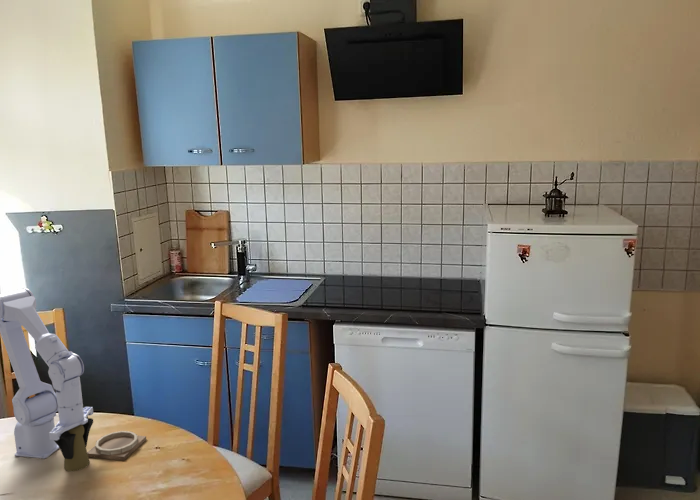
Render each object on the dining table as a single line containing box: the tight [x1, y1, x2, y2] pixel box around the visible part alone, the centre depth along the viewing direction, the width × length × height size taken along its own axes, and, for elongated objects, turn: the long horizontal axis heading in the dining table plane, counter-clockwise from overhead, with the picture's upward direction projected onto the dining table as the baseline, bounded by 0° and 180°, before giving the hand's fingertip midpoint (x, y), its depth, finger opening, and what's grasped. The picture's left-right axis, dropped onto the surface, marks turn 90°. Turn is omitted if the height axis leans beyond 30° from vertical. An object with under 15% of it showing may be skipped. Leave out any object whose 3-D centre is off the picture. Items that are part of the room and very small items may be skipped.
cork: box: [63, 424, 91, 472], centre depth 152 cm, size 6×6×11 cm
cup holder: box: [87, 430, 147, 461], centre depth 161 cm, size 11×11×2 cm
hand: (75, 452), depth 152 cm, fingers closed on cork, 5 cm apart
